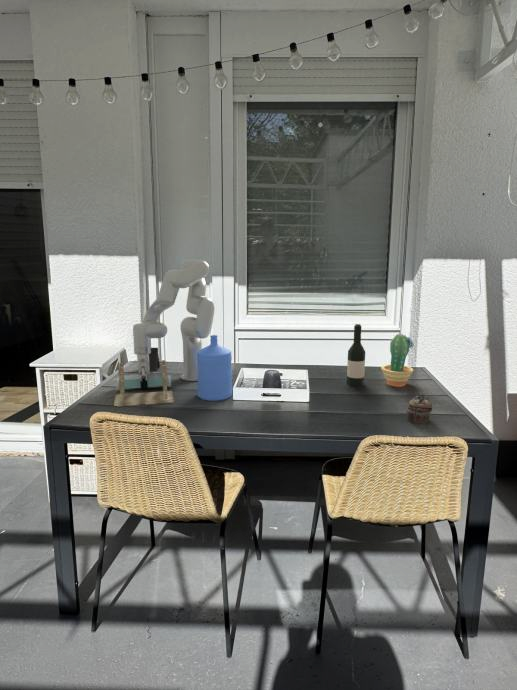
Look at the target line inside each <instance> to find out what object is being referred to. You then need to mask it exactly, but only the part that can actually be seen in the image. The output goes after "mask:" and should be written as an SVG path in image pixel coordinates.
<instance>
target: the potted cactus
mask: <svg viewBox="0 0 517 690" xmlns="http://www.w3.org/2000/svg"><path fill="white" fill-rule="evenodd" d="M413 347H414V342H413V340H412V339H411V337H409V336H406V334H403V333H401V334H400V333H397V334H396V335H395V336H394V337H393V338H392V339H391V340H390V343H389V351H390V355H391V358H390V364H385V365H382V366H381V367H380V369H381V371H382V373H383V376H384V378H385V380H386V382H387V383H386V384H387V385H388V386H391V387H396V388H397V387H398V388H399V387H405V386H406V383H407V382H408V380H409V378H410V377H411V375H412V374H413V372H414V368H412V366H408V365H405V363H406V359H407V356H408V354H409V352H410V348H411V349H413Z"/></svg>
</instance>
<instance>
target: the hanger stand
mask: <svg viewBox="0 0 517 690" xmlns="http://www.w3.org/2000/svg"><path fill="white" fill-rule="evenodd" d="M118 364H119V365H118V368H117V370H118V371H117V372H118V378H119V389H120V391H119V393H118V394H115V397H114V402H113V403H114V404H113V405H114V407H115V406H117V407H126V406H127V407H129V406H141V405H140V404H145V405H156V404H158V403H159V404H169V403H171V404H172V403H174V395H173V390H168V386H167V375H168V374H167V365H166V364H167V363H166V360H163V359H162V360H161V372H162V374H161V375H162V376H161V378H162V380H163V386H162V391H151V392H150V391H149V392H148V391H147V392H136V393H135V392H134V393H133V392H132V393H126V388H125V384H124V380H125V376H124V375H125V372H124V371H125V369H124V362H119V363H118Z"/></svg>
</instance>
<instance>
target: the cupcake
mask: <svg viewBox="0 0 517 690" xmlns="http://www.w3.org/2000/svg"><path fill="white" fill-rule="evenodd" d="M405 408H406V415H407V420H408V421H409V422H412V423H415V424H427V423H428V422H429V421H430V417H431V415H432V411H433V406H432V402H431V401H429V398H428V397H427V396H426V395H422V396H420V395H419V394H417V395H416V396H414V397H413V399H411V400H409V402H408V404H407V405H406V407H405Z"/></svg>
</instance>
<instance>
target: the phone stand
mask: <svg viewBox="0 0 517 690" xmlns="http://www.w3.org/2000/svg"><path fill="white" fill-rule="evenodd" d="M150 348H151V353H150V354H149V368H150V372H157V371H158V370H160V368H161V362H160V356H159V348H158V347H150Z"/></svg>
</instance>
